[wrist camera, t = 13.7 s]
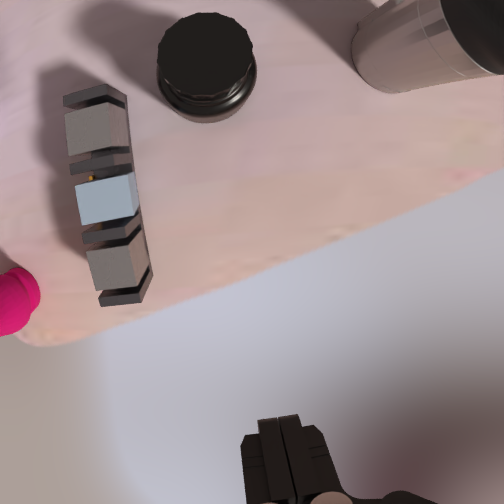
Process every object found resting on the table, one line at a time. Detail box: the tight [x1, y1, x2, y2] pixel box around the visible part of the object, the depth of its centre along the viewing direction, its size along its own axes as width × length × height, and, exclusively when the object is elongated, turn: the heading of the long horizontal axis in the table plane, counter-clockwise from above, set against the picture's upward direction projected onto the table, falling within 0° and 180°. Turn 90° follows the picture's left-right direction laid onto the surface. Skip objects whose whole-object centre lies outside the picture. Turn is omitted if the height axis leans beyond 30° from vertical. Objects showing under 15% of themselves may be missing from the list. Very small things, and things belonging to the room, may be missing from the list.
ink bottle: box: [157, 12, 257, 123], centre depth 25 cm, size 10×9×12 cm
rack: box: [63, 84, 153, 307], centre depth 30 cm, size 20×5×7 cm, turn 5°
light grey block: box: [75, 171, 139, 226], centre depth 28 cm, size 4×5×7 cm
